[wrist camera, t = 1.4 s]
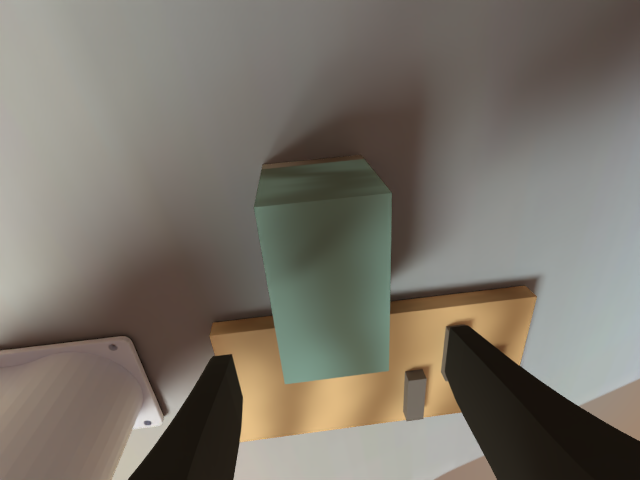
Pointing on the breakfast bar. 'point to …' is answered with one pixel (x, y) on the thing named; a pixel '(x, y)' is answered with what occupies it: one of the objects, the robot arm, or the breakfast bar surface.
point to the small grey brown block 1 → (414, 394)
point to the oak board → (375, 388)
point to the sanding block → (327, 265)
